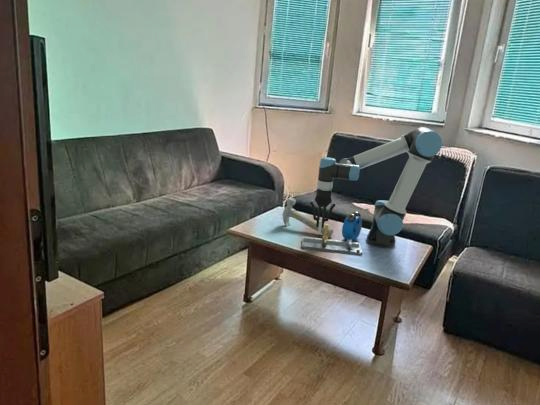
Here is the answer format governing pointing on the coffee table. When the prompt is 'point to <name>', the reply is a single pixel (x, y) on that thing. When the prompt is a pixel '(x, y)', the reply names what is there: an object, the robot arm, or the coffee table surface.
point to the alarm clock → (352, 226)
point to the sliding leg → (325, 235)
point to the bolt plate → (331, 247)
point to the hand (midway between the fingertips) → (319, 233)
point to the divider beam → (333, 241)
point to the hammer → (301, 217)
